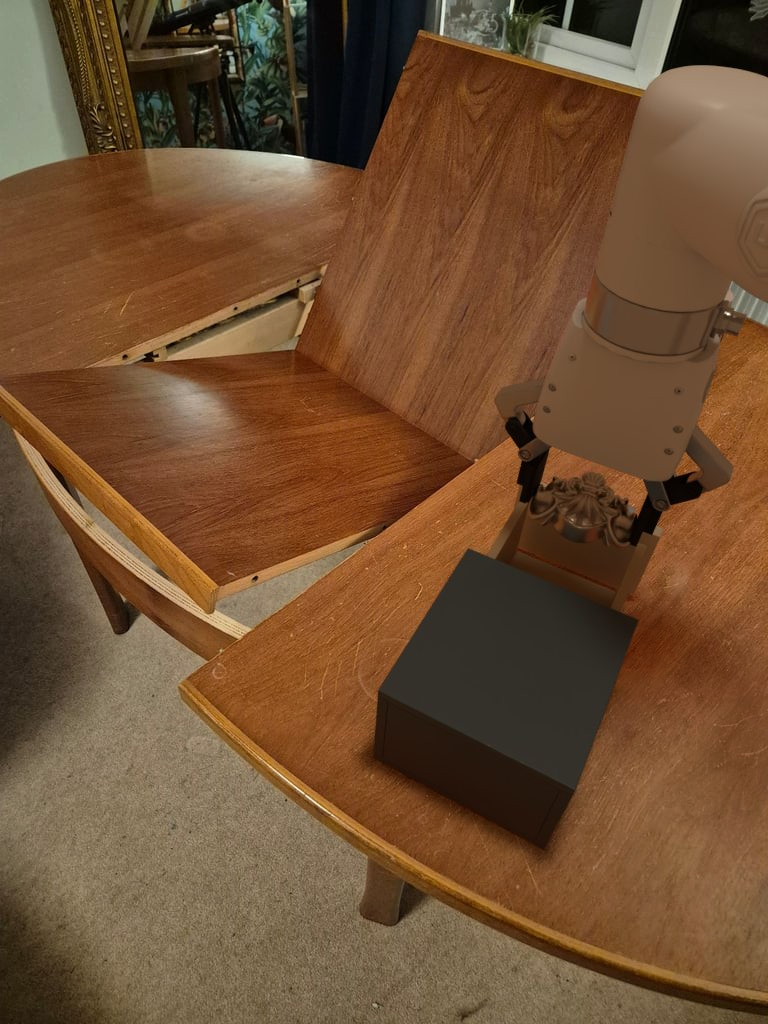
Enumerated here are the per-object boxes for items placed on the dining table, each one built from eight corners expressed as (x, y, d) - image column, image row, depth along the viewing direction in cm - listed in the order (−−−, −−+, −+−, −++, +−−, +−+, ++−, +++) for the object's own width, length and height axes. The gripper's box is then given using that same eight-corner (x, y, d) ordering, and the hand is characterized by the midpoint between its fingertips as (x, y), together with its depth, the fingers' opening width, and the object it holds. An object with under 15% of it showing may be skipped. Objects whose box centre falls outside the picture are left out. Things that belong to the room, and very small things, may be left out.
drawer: (525, 508, 74) (540, 448, 68) (648, 556, 70) (675, 497, 64) (450, 636, 62) (461, 577, 57) (592, 702, 59) (618, 646, 53)
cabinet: (454, 620, 65) (467, 547, 58) (605, 689, 61) (639, 619, 54) (372, 757, 56) (377, 690, 49) (543, 850, 51) (575, 790, 45)
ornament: (638, 509, 59) (652, 475, 56) (622, 569, 54) (637, 535, 52) (541, 478, 61) (550, 444, 58) (517, 534, 56) (526, 499, 54)
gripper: (810, 321, 44) (706, 524, 57) (535, 246, 49) (495, 446, 62) (794, 385, 39) (684, 591, 52) (492, 294, 45) (458, 501, 57)
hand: (582, 511), depth 57 cm, fingers closed on ornament, 8 cm apart
